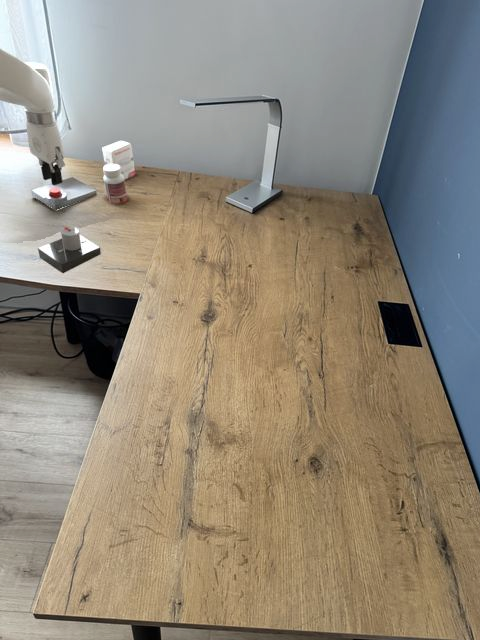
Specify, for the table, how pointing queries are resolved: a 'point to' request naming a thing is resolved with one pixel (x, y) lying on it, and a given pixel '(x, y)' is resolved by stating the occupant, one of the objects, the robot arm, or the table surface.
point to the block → (64, 193)
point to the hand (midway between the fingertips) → (53, 180)
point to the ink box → (120, 157)
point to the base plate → (68, 254)
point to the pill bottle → (114, 184)
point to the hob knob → (71, 238)
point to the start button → (55, 192)
